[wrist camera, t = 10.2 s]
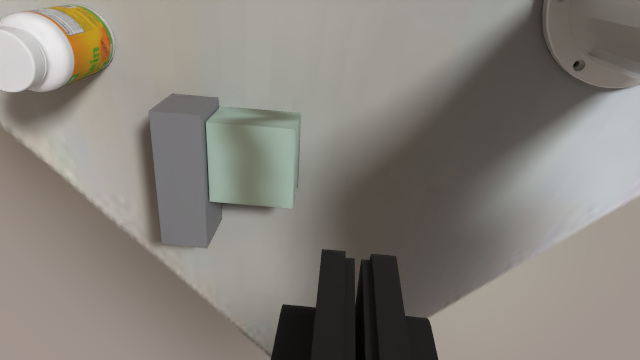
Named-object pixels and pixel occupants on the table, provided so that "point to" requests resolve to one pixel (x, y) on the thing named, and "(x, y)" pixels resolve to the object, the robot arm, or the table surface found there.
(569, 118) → the table surface
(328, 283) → the robot arm
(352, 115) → the table surface
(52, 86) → the supplement bottle
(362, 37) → the table surface
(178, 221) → the gray rectangular block
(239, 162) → the sage block
